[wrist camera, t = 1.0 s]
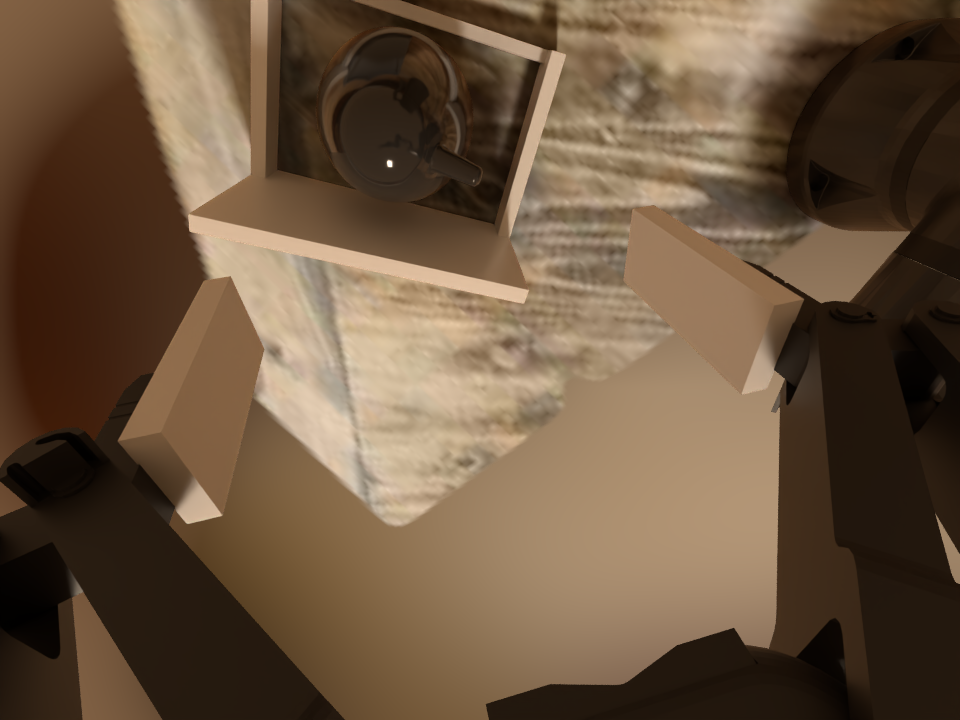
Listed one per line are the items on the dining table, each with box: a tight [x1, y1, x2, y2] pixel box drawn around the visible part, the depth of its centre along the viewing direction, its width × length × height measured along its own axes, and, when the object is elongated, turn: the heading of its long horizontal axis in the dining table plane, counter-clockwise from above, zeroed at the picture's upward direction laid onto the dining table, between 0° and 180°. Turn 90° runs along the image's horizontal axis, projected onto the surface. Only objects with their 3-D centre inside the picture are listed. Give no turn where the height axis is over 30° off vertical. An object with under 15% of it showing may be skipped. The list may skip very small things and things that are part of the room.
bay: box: [188, 0, 566, 304], centre depth 30 cm, size 20×14×13 cm
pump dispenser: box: [316, 26, 483, 203], centre depth 28 cm, size 10×10×15 cm
